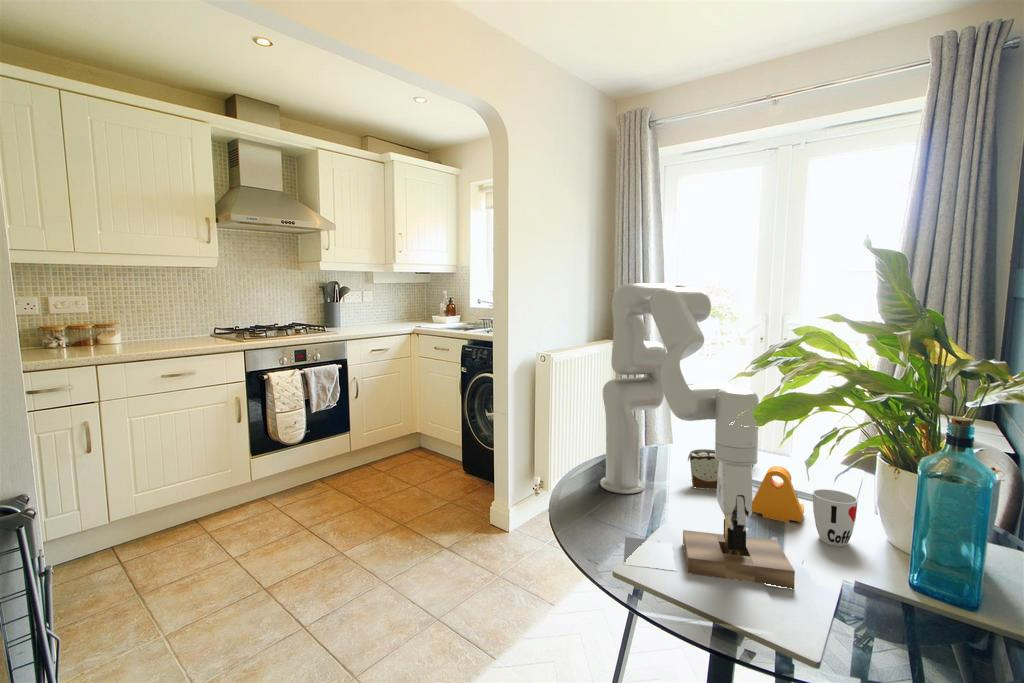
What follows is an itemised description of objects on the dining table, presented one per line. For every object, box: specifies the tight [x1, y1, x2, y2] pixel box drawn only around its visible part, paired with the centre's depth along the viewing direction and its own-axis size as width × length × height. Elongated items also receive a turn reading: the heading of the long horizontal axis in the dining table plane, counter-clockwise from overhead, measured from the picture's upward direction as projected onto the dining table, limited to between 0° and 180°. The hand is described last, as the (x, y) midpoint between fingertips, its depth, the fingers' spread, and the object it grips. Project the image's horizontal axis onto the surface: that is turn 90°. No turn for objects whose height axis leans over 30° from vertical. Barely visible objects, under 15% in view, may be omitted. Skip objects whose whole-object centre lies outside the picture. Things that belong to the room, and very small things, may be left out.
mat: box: [623, 536, 648, 563], centre depth 97 cm, size 12×10×1 cm
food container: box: [687, 448, 719, 490], centre depth 136 cm, size 12×6×10 cm, turn 80°
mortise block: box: [682, 529, 796, 590], centre depth 93 cm, size 12×18×4 cm, turn 74°
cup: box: [812, 488, 858, 547], centre depth 103 cm, size 8×8×10 cm
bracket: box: [751, 465, 805, 523], centre depth 116 cm, size 11×7×12 cm, turn 54°
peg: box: [724, 511, 744, 556], centre depth 92 cm, size 4×4×11 cm
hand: (734, 543), depth 92 cm, fingers closed on peg, 3 cm apart
